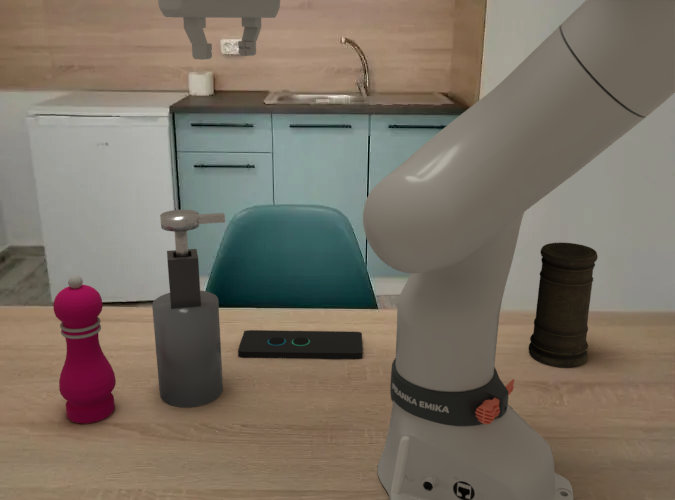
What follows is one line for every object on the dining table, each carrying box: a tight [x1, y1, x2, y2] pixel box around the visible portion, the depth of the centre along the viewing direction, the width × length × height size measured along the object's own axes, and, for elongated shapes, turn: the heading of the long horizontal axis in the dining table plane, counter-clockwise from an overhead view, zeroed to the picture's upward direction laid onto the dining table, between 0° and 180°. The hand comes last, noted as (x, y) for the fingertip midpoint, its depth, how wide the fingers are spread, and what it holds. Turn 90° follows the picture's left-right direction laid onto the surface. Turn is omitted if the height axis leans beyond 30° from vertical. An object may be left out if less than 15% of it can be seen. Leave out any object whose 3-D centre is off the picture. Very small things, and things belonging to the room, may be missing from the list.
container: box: [528, 242, 599, 368], centre depth 110 cm, size 9×9×18 cm
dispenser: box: [151, 248, 224, 409], centre depth 97 cm, size 9×9×21 cm
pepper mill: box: [53, 274, 117, 424], centre depth 92 cm, size 7×7×20 cm
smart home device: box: [237, 329, 363, 360], centre depth 114 cm, size 8×2×20 cm
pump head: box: [160, 209, 226, 258], centre depth 94 cm, size 8×5×9 cm, turn 104°
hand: (226, 57), depth 85 cm, fingers open, 8 cm apart
